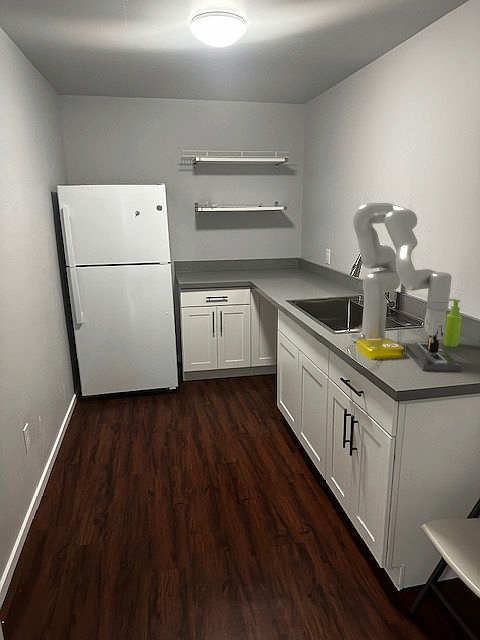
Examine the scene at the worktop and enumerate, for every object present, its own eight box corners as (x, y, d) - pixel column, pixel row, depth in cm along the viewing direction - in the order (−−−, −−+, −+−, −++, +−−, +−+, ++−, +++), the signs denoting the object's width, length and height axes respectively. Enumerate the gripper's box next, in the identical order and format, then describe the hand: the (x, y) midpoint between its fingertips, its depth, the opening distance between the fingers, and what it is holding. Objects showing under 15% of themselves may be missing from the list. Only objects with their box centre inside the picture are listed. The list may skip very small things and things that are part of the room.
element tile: (387, 347, 195) (388, 336, 194) (405, 358, 181) (406, 347, 180) (354, 348, 193) (355, 338, 192) (369, 360, 179) (370, 349, 178)
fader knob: (429, 355, 174) (431, 339, 173) (426, 352, 178) (428, 336, 176) (437, 355, 174) (439, 339, 172) (434, 352, 178) (436, 336, 176)
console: (423, 370, 167) (424, 361, 166) (404, 350, 190) (405, 342, 189) (459, 371, 166) (460, 362, 165) (436, 350, 189) (437, 342, 188)
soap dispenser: (443, 341, 201) (448, 297, 196) (459, 344, 197) (465, 299, 192) (439, 344, 197) (444, 299, 192) (456, 347, 193) (461, 301, 188)
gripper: (420, 300, 179) (416, 344, 184) (434, 309, 164) (429, 358, 168) (440, 300, 178) (435, 345, 183) (455, 310, 163) (449, 358, 168)
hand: (432, 351), depth 176 cm, fingers closed on fader knob, 2 cm apart
